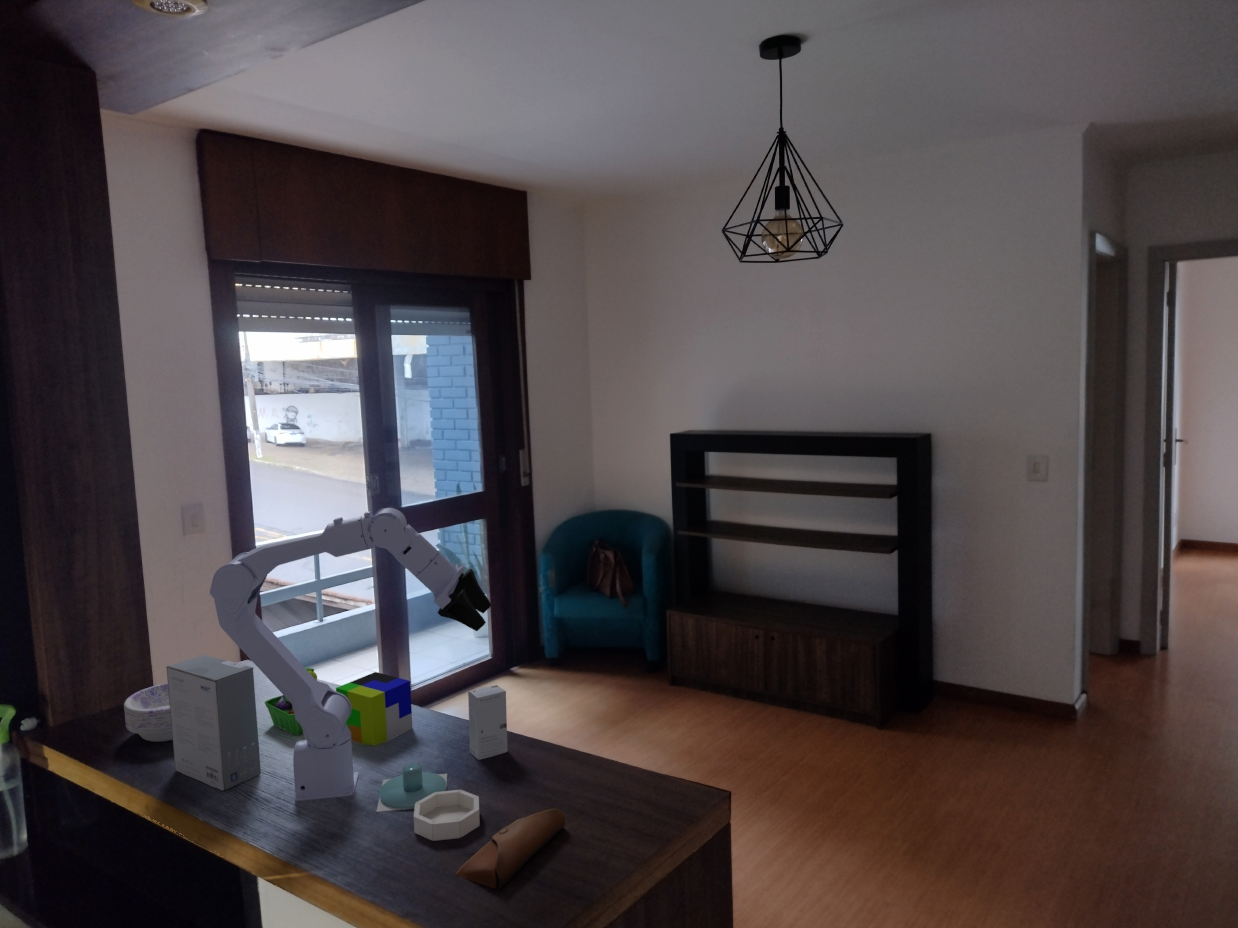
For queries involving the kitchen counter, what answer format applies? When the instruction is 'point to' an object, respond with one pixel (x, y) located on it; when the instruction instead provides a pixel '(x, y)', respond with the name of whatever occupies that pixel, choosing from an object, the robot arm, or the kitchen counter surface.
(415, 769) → the lid
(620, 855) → the kitchen counter surface
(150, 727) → the paper bowls
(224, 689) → the hard drive box
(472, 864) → the sunglasses case
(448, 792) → the bowl
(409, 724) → the puzzle toy
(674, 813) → the kitchen counter surface
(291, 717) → the fruit basket
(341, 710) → the robot arm
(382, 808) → the plate
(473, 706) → the skincare box
